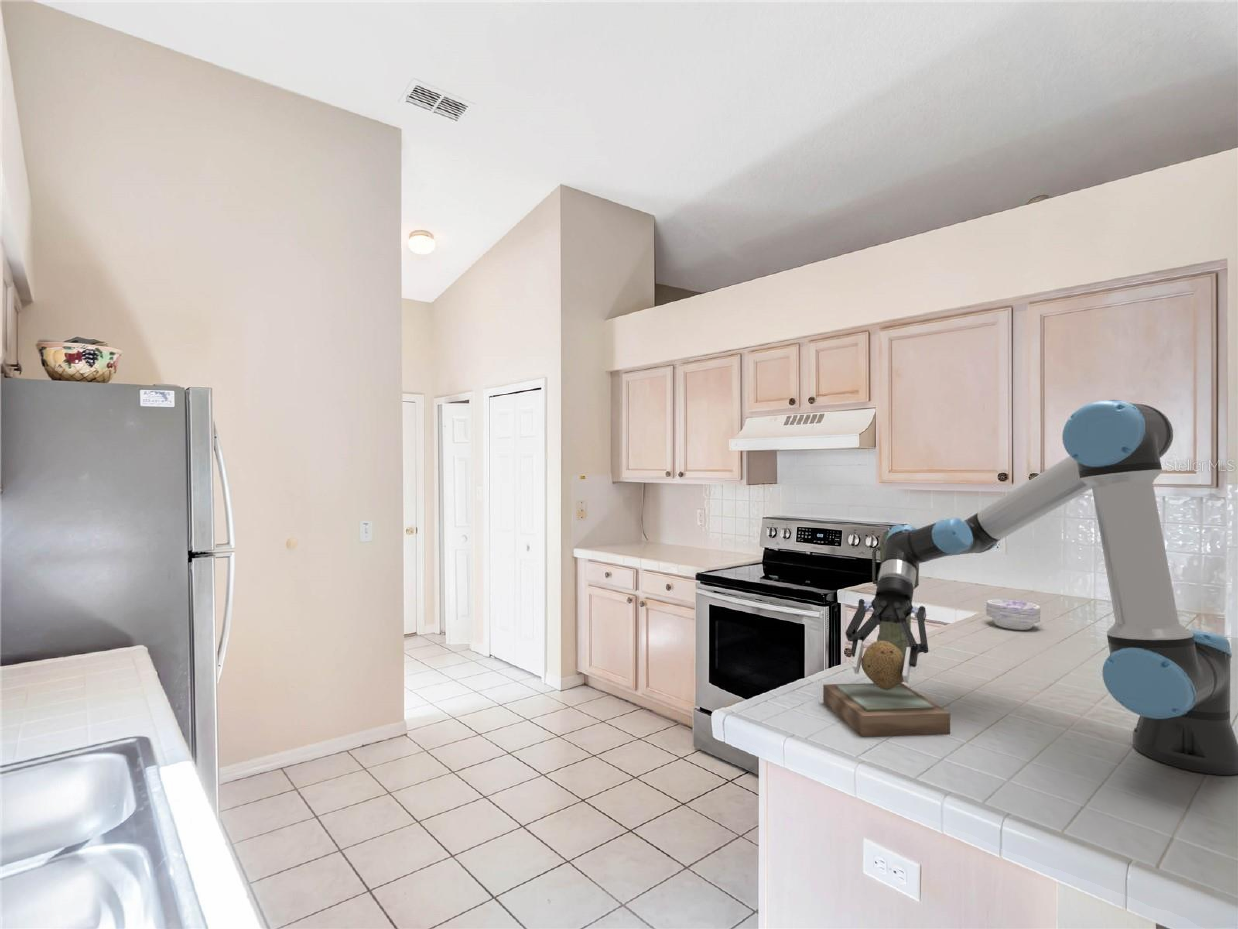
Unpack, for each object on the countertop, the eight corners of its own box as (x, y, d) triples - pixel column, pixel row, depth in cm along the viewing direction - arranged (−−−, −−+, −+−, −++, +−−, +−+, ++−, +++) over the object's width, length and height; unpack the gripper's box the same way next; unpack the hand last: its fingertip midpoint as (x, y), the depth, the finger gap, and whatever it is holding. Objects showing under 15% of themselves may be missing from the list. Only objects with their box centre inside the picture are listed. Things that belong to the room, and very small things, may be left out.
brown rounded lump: (850, 684, 136) (850, 637, 136) (882, 679, 139) (882, 633, 139) (884, 699, 127) (884, 648, 127) (916, 692, 131) (916, 644, 131)
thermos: (917, 667, 167) (918, 533, 167) (869, 660, 172) (870, 531, 173) (920, 659, 174) (920, 531, 175) (874, 652, 180) (874, 528, 180)
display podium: (950, 733, 125) (950, 710, 125) (862, 736, 123) (862, 713, 123) (900, 700, 143) (900, 680, 143) (823, 702, 141) (823, 682, 141)
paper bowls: (1029, 623, 217) (1030, 599, 217) (1048, 634, 202) (1048, 609, 202) (980, 620, 220) (980, 597, 221) (994, 631, 206) (994, 606, 206)
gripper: (951, 600, 140) (940, 694, 127) (849, 589, 152) (829, 674, 139) (947, 579, 136) (936, 675, 122) (843, 570, 148) (822, 655, 134)
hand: (879, 674), depth 130 cm, fingers closed on brown rounded lump, 9 cm apart
